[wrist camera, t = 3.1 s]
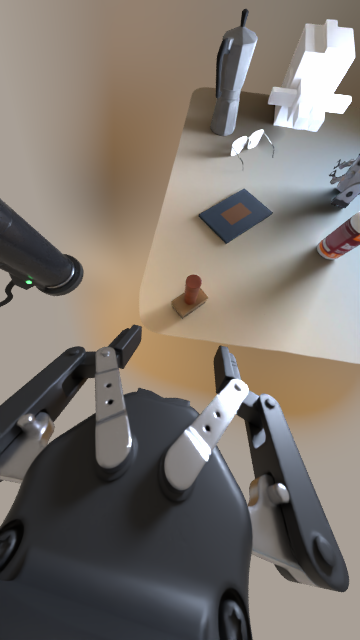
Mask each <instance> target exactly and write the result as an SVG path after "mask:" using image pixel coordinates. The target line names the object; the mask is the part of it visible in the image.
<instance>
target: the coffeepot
mask: <svg viewBox="0 0 360 640" xmlns="http://www.w3.org/2000/svg"><path fill="white" fill-rule="evenodd" d="M247 16H248V10H247V9H244V10H243V11H242V17H241V26H239V27H236V28H234V29H231V30H229V31H227V32H226V33H225V35H224V36H223V41H222V43H221V46H220V49H219V52H218V55H217V64H216V65H217V66H216V68H217V69H216V98H217V101H216V106H215V110H214V114H213V118H212V122H211V126H210V127H211V130H212V131H213V132H214V133H215V134H218V135H223V136H225V135H230V134H232V133H233V131H234V129H235V125H236V118H237V112H238V105H239V95H240V91H241V88H242V86H243V83H244V80H245V77H246V74H247V71H248V67H249V64H250V61H251V57H252V55H253V52H254V48H255V45H256V42H257V39H258V37H257V36H256V35H255V34H256V33H255V32H253V31H251V30H249V29H247V28H246V27H245V23H246V19H247Z"/></svg>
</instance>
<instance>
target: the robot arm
mask: <svg viewBox="0 0 360 640" xmlns="http://www.w3.org/2000/svg"><path fill="white" fill-rule="evenodd" d="M0 269H2V270H4V271H6V272H9V274H10V276H11V278H12V280H11V282H10V283H9V284H8V285H7V287H6V289H5V292H6V294H7V295H8V297H7V298H6V299H5V300H4V301H2V302H0V307H1V306H3V305H5V304H7V303H8V302H10V301H11V300H12V298H13V295H12V293H11V289H12V287H13V286H14V285H17V286H19V287H21V288H24V289H26V290H27V289H29V288H31V287H33V286H37V287H39V288H41V289H43V290H45V291H46V290H48V289H58V288H61V287H64V286H65V285H67V284H68V283H69V282H70V281H71V280H72V279H73V277H74V275H75V271H76V269H75V265H74V263H73V262H72V261H71V260H70V259H68V258H67V257H66V256H65V255H63V254H62V253H61V252H60V251H59V250H58V249H57V248H55V247H54V246H53V245H52V244H51V243H50V242H49V241H48V240H46V239H45V238H44V237H43V236H42V235H41V234H39V233H38V232H37V231H36V230H35V229H34V228H33V227H31V225H29V224H28V223H27V222H26V221H25V220H24V219H23V218H22V217H20V216H19V215H18V214H17V213H16V212H15V211H14V210H13V209H11V208H10V207H9V206H8V205H7V204H6V203H5V202H3V201H2V200H1V199H0ZM141 332H142V327H141V326H138V325H133V326H132V327H131V328H130V329H129V328H127V329H125V330H123V331H122V332H121V333H120V334H119V335H118V336H117V337H116V338H115V339H114V340H113V342H112V343H111V344H110V345H109V346H108V347H103V348H101V349H99V350H98V351H97V352H85V349H84V348H83V347H79V346H78V347H72V348H69V349H67V350H66V351H65V352H64V353H62V354H61V355H60V356H59V357H58V358H56V359H55V360H54V361H53V362H52V363H50V364H49V365H48V366H47V367H46V368H44V369H43V370H42V371H41V372H40V373H38V374H37V375H36V376H35V377H34V378H33V379H31V380H30V381H29V382H28V383H27V384H25V385H24V386H23V387H22V388H21V389H19V390H18V391H17V392H16V393H15V394H14V395H12V396H11V397H10V398H9V399H7V400H6V401H5V402H4V403H3V404H2V405H0V482H1V481H3V480H5V481H10V482H15V483H21V486H20V489H19V492H18V494H17V496H16V499H15V501H14V503H13V505H12V507H11V509H10V511H9V513H8V515H7V516H6V518H5V520H4V522H3V523H2V525H1V526H0V640H253V639H252V632H251V625H250V618H249V604H248V583H249V567H250V560H251V554H252V555H255V556H257V557H259V558H262V559H264V560H266V561H269V562H271V563H273V564H274V565H275V567H276V568H277V570H278V571H279V572H280V574H281V575H282V576H283V577H284V578H286V579H287V580H289V581H292V582H297V583H301V584H306V585H311V586H315V587H320V588H324V589H329V590H334V591H338V592H345V591H346V590H347V589H348V586H349V576H348V571H347V568H346V564H345V561H344V559H343V556H342V554H341V552H340V550H339V547H338V544H337V542H336V540H335V537H334V535H333V532H332V530H331V528H330V525H329V523H328V520H327V518H326V516H325V513H324V511H323V508H322V506H321V504H320V501H319V499H318V496H317V494H316V492H315V489H314V487H313V484H312V482H311V480H310V477H309V475H308V472H307V470H306V468H305V465H304V463H303V460H302V458H301V456H300V453H299V451H298V448H297V446H296V444H295V441H294V439H293V436H292V434H291V432H290V429H289V427H288V424H287V422H286V419H285V417H284V415H283V412H282V410H281V407H280V405H279V404H278V402H277V401H276V400H275V399H274V398H273V397H271V396H270V395H268V394H261V395H260V396H258V395H256V394H254V393H253V392H251V391H249V390H248V388H247V386H246V384H245V383H244V382H243V381H241V377H240V373H239V370H238V367H237V363H236V359H235V357H234V356H233V354H231V353H229V350H228V348H227V347H224V346H219V348H218V350H217V352H216V355H215V357H214V371H215V384H216V393H217V395H216V397H215V398H214V399H213V400H212V401H211V402H210V404H209V405H208V406H207V407H206V408H205V409H204V410H203V412H202V413H201V414H199V413H198V412H197V411H196V410H195V409H194V408H192V407H191V406H190V401H187V400H183V399H179V398H163V397H161V396H159V395H157V394H155V393H154V392H152V391H149V390H145V389H141V388H139V389H138V391H137V392H131V393H128V394H125V395H123V390H122V384H121V379H120V373H119V368H121V369H124V367H125V365H126V364H127V362H128V361H129V359H130V358H131V356H132V355H133V353H134V352H135V350H136V349H137V347H138V345H139V344H140V342H141ZM88 378H95V398H96V413H95V414H93V415H92V416H90V417H88V418H87V419H85V420H84V421H82V422H80V423H79V424H77V425H76V426H74V427H73V428H71V429H70V430H68V431H67V432H65V433H63V434H62V435H60V436H59V437H57V438H56V439H54V440H53V441H52V442H50V443H49V444H48V441H49V439H50V437H51V435H52V433H53V432H54V428H55V426H54V423H53V422H54V421H55V420H56V418H57V417H58V416H59V415H60V413H61V412H62V411H63V410H64V408H65V407H66V406H67V405H68V403H69V402H70V400H71V399H72V398H73V397H74V396H75V394H76V393H77V392H78V391H79V389H80V388H81V386H82V385H83V384H84V383H85V382H86V380H87V379H88ZM235 414H236V415H238V416H240V417H241V418H243V419H244V420H245V425H246V431H247V436H248V441H249V447H250V453H251V458H252V464H253V470H254V474H255V480H253V481H252V482H251V484H250V487H249V495H250V498H249V503H248V506H247V503H246V500H245V498H244V495H243V493H242V491H241V489H240V487H239V486H238V484H237V482H236V480H235V478H234V476H233V475H232V473H231V471H230V469H229V467H228V465H227V463H226V462H225V460H224V458H223V456H222V454H221V452H220V450H219V449H218V447H217V445H216V444H217V443H218V441H219V440H220V438H221V436H222V435H223V433H224V431H225V430H226V428H227V427H228V425H229V423H230V422H231V420H232V419H233V417H234V415H235ZM47 444H48V445H47Z"/></svg>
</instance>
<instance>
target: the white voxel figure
mask: <svg viewBox="0 0 360 640" xmlns="http://www.w3.org/2000/svg"><path fill="white" fill-rule="evenodd" d="M354 58H355V48H354V36H353V29H352V28H343V27H338V21H337V20H329V19H327V20H326V22H325V24H324V25H316V24H305V27H304V30H303V32H302V35H301V37H300V40H299V42H298V45H297V47H296V50H295V53H294V56H293V58H292V60H291V63H290V65H289V68H288V70H287V73H286V75H285V78H284V81H283V83H282V86H281V88H280V87H273V88H272V92H271V94H270V96H269V99H268V104H271V105H275V115H274V125H276V126H284V127H291V128H292V129H299V130H302V129H307V131H314V132H317V131H318V129H319V128H320V126H321V125H322V123H323V121H324V111H326V112H334V113H342V114H343V113H344V111H345V110H346V108H347V107H348V105H349V104H350V103H351V96H345V95H336V94H333V93H334V91H335V89H336V88H337V86H338V85H339V83H340V81H341V80H342V78H343V77H344V75H345V73H346V72H347V70H348V68H349V67H350V65H351V63H352V62H353V60H354Z"/></svg>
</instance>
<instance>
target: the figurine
mask: <svg viewBox="0 0 360 640" xmlns="http://www.w3.org/2000/svg"><path fill="white" fill-rule="evenodd" d="M340 160H341V159H340ZM340 160H339V161H338V162H339V163H338V165H337V166H336V167H338V166H340V167H339V168H340V169H342V168H344V167H347V166H351V165H352V166H351V167H350V168H349V170H348V171H347V172H346V174H344V175H342V177H335V173H336V170H335V171H333V172H334V174H333V175H331V174H330V175H329V176H332V177H333V179H332V180H331V181H330V183H331V184H334V183H336V182H339V181H340V182H339V184H338V186H337V189H338V190H339V191H340V192H341V193H340V194H339V195H338V196H336V197H335V198H334V199H333V200H332V201H331V202H332V203H331V204H334V206H335V205H339V206H338V207H341V208H346V207H347V206H348V205H349V203H350V202H351V201H352V200H353V199H354V198H355V197H356V196H357V195H359V194H360V154H359V156H358V158H357V159H356V160H354V159H351V160H350V161H349V162H346V161H344V162H343V163H342V164H340ZM336 167H334V169H335V168H336Z"/></svg>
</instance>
